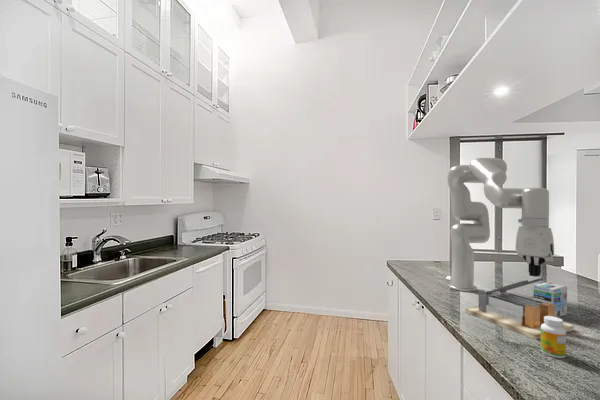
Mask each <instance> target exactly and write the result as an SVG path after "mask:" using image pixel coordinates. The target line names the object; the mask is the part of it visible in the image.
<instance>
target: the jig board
mask: <svg viewBox="0 0 600 400" xmlns="http://www.w3.org/2000/svg"><path fill="white" fill-rule="evenodd" d="M465 313H466V314H469V315H471V316H474V317H477V318H479V319H482V320H483V321H486V322H490V323H491V324H494V325H496V326H499V327H502V328H505V329H507V330H510V331H512V332H515V333H517V334H520V335H523V336H526V337H527V338H530V339H532V340H541V325H542V324H543V323H540V327H537V328H530V327H527V326H525V325H523V326H521V325H518V324H515V323H512V322H510V321H507V320H504V319H501V318H499V317H496V316H493V315H490V314H488V313H485V312H482V311H479V305H477V306H473V307H472V306H471V307H466V308H465ZM562 327H563V328H564V329H565V330H566V333H567V332H571V331H574V329H575V326H574V325H573V324H570V323H567V322H564V321H563V326H562Z"/></svg>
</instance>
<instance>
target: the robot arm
mask: <svg viewBox="0 0 600 400" xmlns="http://www.w3.org/2000/svg"><path fill="white" fill-rule="evenodd" d="M507 171H508V166H507V163H506V161H505V160H503V159H502V158H498V157H478V158H475V159H473V160H471V162H470V164H459V165H455V166H452V167H451V168H450V169H449V170H448V172H447V178H446V179H447V185H448V188H449V191H450V198H451V201H450V202H451V213H452V217H453V219H455V220H456V221H464V222H463V223H461V222H460V223H456V224H453V225H452V226H451V227H450V230H449V236H450V237H449V238H450V241H451V242H450V243H451V275H447V277H446V278H445V280H446V281H448V282H449V283H448V284H447V286H448V288H450V289H452V290H455V291H459V292H468V293H469V292H473V293H474V292H476V291H478V286H476V285H474V284H475V283H474V281H475V253H474V249H473V248H472V247H471V245H470V244H484V243H485V244H486V243H487V242H488V241H489V239H490V236H491V230H490V229H491V228H490V215H489V214H490V213H489V210H488V207H487V205H486V204H485V203H483V202H481V201H472V199H471V191H470V190H469V188H468V187H467V185H466V183H467V184H468V183H470V184H483V185H484V186H483V193H484V196H485V198H486V199H487V200H488V201H489V202H490V203H492V204H493V205H494V206H495V207H497V208H500V209H521V218H519V219H517V222H518V224H520V226H518V229H517V232H516V238H515V252H516V253H517V256H518V257H520V258H522V259H524V260H525V261H526V263H527V265H528V275H529V277H530V276H532V277H540V276H541V274H542V265H543V264H545V263H547V262H554V255H555V240H554V236H553V231H552V228H551V227H550V192H549V190H548V189H547V188H545V187H527V188H519V187H518V188H517V187H516V188H515V187H512V188H511V187H506V188H505V187H502V186H503V185H504V184H505V183H506V182H507V178H508V176H507ZM465 221H466V222H467V221H468V223H465ZM470 221H471V222H473V223H470Z"/></svg>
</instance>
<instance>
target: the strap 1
mask: <svg viewBox="0 0 600 400" xmlns="http://www.w3.org/2000/svg"><path fill="white" fill-rule="evenodd" d="M527 282H529V280H522V281H518V282H515V283H512V284H509V285H505V286H502V287H499V288H494V289H492V290H486V291H484V292H483V294H485V295H489V294H492V293H495V292H499V291H500V290H504V289H507V288H510V287H514V286H517V285H520V284H524V283H527Z"/></svg>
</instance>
